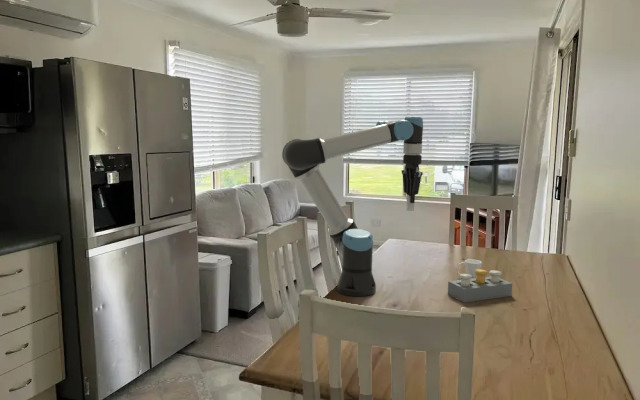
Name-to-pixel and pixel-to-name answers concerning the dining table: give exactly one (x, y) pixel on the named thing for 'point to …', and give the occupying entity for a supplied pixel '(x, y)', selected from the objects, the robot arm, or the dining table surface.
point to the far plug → (495, 276)
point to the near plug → (465, 279)
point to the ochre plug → (480, 276)
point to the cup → (471, 266)
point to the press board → (479, 290)
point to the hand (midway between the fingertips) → (410, 210)
